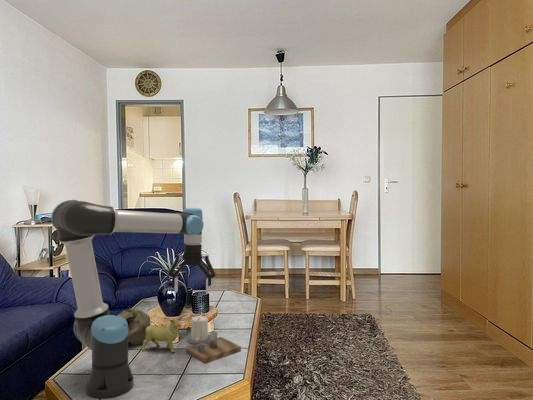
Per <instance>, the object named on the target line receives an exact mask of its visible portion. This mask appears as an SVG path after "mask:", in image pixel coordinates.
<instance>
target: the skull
mask: <svg viewBox="0 0 533 400" xmlns="http://www.w3.org/2000/svg"><path fill="white" fill-rule="evenodd" d="M149 315H150V314H147V313H146V312H145V311H144V310H143V311H142V310H139V309H137V308H135V307H134V308H133V307H130V308H128V309H126V310H123V311H122V312H120V313H119V314H117V315H116V316H120V317H123V318H124V319H125V320H126V321H127V324H128V343H129V345H130V346H131V345H132V346H133V345H138V344H140V343H141V342H142V341H144V340H145V339H146V331H145V330H146V328H147V327H148V326H151V317H150V316H149Z"/></svg>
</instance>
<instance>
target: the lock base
mask: <svg viewBox="0 0 533 400" xmlns="http://www.w3.org/2000/svg"><path fill="white" fill-rule="evenodd" d="M209 335H210V341H207V342H203V343H200V344H197V345H195V344H193V345H191V346H188V347H185V353H186V354H188V355H189V356H191V357H193V358H194V359H196V360H199V361H200V362H202V363H204V364H208V363H210V362H213V361H216V360H219V359H222V358H225V357H227V356H230V355H234V354H236V353H240V352H241V351H242V346H241V345H239V344H237V343H234V342H233V341H230V340H228V339H226V338H224V337H221V336H220V337H218V332H217V331H211V332H209ZM239 351H240V352H239Z"/></svg>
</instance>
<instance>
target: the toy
mask: <svg viewBox="0 0 533 400" xmlns="http://www.w3.org/2000/svg"><path fill="white" fill-rule="evenodd" d="M182 319H183V317H179V318H177V319H169V322H170V323H169V325H167V326H164V325H163V326H162V325H159V324H150V326H148V327H147V328H146V330H145V331H146V336H145V338H144V339H143V344H142V348H141V351H142V352H146V351H147V350H146V345H147V344H148V342H152V343H153V344H155V346H156V347H157V349H158V348H160V346H161V345H160V343H159V342H167V344H166V349H167V350H170V353H171V354H176V351H175V350H174V345H173V343H174V341H176V340H177V338H178V333H179V329H180V328H181V327H182V324H181V323H180V321H181V320H182Z"/></svg>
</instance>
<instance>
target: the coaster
mask: <svg viewBox="0 0 533 400" xmlns="http://www.w3.org/2000/svg"><path fill="white" fill-rule="evenodd" d="M207 341H210V334H208V338H207V339H206V340H203V341H198V342H196V341H194V340H192V339H191V335H189V336H188V337H187V338H186V342H187V343H188V344H190V345H197V344H200V343H203V342H207Z"/></svg>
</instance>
